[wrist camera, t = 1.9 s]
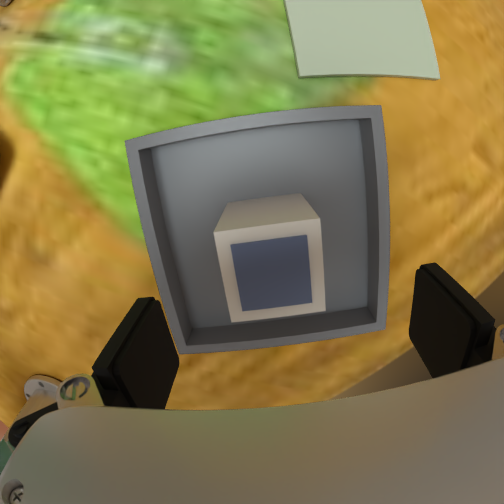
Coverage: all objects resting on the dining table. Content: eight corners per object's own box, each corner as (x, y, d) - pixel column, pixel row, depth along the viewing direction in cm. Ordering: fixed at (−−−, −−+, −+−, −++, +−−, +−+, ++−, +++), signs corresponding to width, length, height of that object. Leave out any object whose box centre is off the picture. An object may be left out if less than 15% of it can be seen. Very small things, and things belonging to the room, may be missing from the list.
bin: (373, 309, 24) (385, 329, 22) (186, 332, 26) (179, 354, 23) (365, 109, 19) (381, 105, 16) (141, 140, 20) (124, 140, 17)
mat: (435, 80, 18) (440, 78, 17) (298, 78, 18) (299, 76, 18) (403, -34, 14) (407, -37, 13) (273, -43, 15) (273, -48, 14)
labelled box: (307, 261, 22) (326, 312, 16) (239, 269, 23) (231, 324, 16) (300, 193, 21) (320, 219, 14) (227, 202, 21) (212, 233, 14)
